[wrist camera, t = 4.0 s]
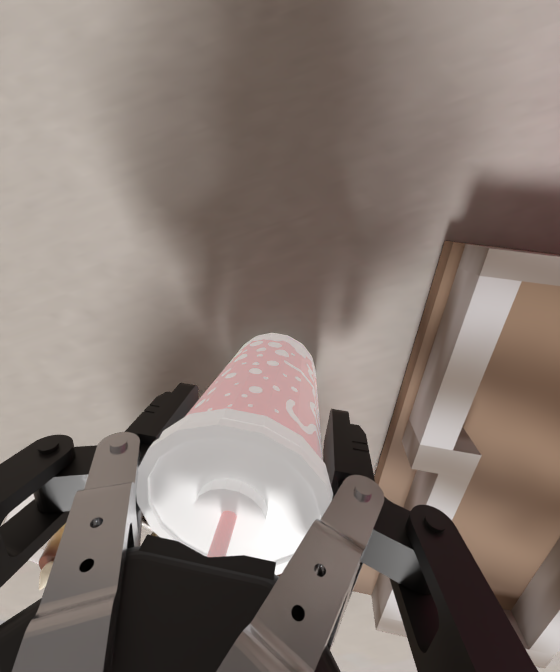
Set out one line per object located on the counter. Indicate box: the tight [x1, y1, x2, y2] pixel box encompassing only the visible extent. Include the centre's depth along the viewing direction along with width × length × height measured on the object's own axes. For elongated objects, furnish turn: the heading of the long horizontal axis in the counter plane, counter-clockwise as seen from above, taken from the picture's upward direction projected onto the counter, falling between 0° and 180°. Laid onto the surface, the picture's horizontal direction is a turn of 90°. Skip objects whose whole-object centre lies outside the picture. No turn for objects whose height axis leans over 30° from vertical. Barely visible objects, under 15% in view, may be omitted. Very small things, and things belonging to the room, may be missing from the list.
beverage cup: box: [136, 333, 333, 575], centre depth 11 cm, size 6×6×14 cm
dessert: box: [4, 494, 153, 590], centre depth 24 cm, size 12×12×5 cm
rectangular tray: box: [353, 241, 560, 668], centre depth 16 cm, size 24×14×3 cm, turn 174°
